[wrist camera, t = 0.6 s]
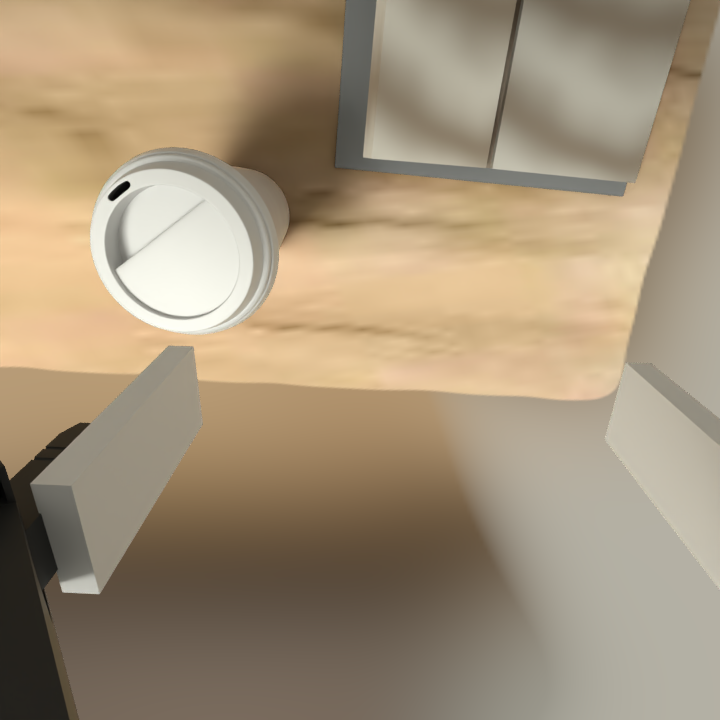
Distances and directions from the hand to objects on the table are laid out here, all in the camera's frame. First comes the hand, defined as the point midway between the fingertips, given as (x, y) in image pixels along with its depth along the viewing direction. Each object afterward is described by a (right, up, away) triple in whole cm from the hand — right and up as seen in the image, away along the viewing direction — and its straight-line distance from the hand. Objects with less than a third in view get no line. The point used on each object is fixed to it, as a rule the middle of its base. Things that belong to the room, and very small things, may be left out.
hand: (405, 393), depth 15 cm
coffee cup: (-10, +12, +22) cm, 27 cm away
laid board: (+13, +23, +16) cm, 31 cm away
